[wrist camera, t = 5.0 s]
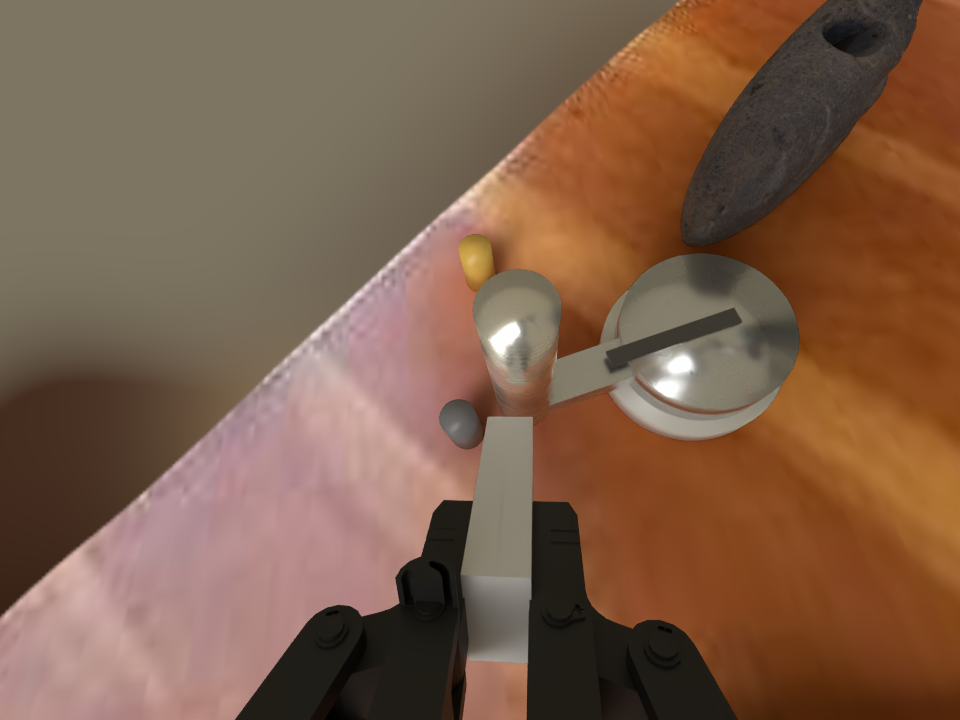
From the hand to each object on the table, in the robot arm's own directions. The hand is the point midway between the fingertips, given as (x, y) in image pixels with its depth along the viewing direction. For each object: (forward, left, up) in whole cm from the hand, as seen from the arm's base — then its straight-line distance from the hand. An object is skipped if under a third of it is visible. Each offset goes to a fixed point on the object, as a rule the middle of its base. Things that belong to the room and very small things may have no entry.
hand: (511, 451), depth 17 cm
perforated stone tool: (-18, -11, -7) cm, 22 cm away
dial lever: (-7, -3, -5) cm, 8 cm away
